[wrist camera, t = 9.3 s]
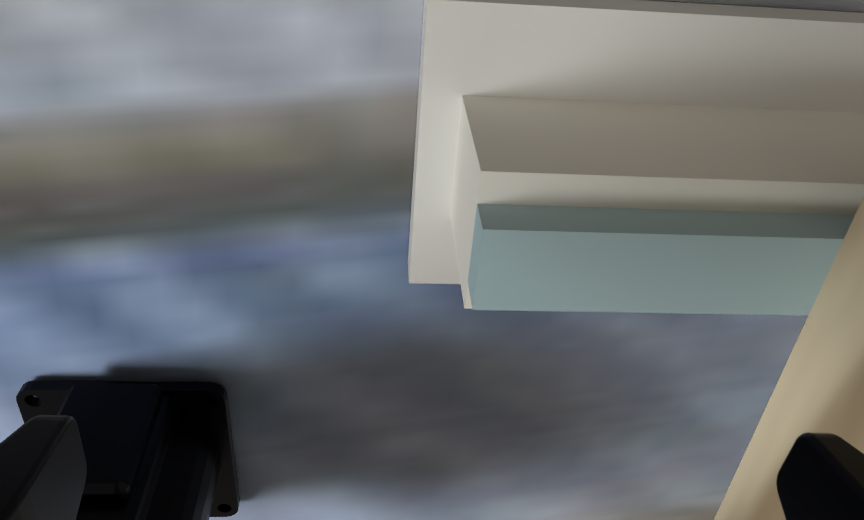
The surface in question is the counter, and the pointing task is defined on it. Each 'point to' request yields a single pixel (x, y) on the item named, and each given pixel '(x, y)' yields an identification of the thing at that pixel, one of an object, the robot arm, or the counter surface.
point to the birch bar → (810, 386)
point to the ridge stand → (635, 154)
